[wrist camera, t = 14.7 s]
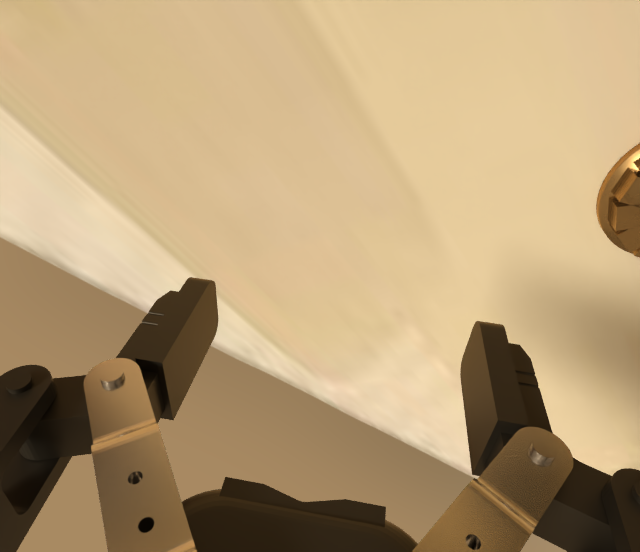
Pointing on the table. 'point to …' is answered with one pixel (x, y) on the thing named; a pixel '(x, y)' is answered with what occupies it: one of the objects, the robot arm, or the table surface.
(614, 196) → the bronze ring
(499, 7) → the table surface
